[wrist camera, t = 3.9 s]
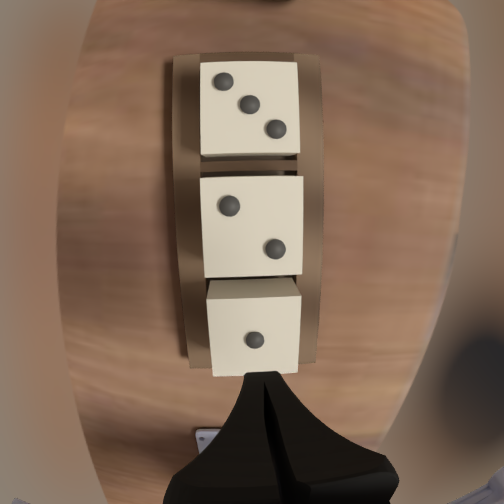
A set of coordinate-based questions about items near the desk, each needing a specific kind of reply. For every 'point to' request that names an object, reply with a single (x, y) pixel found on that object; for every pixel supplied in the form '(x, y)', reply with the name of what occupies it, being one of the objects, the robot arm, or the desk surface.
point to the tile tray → (198, 166)
